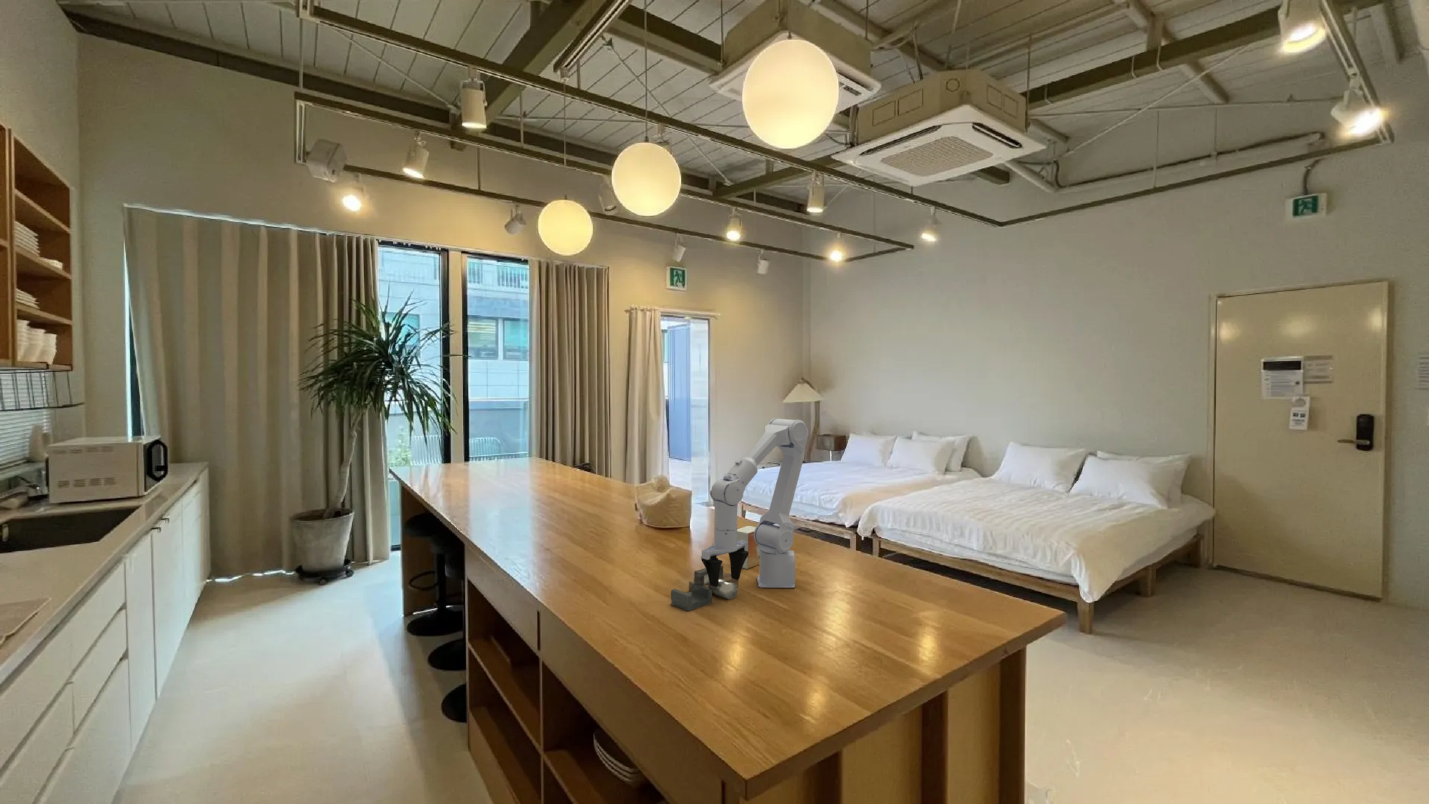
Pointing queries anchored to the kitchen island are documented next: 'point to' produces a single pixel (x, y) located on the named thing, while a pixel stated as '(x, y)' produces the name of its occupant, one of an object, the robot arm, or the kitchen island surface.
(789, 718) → the kitchen island surface
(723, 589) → the axle
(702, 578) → the bearing block
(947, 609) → the kitchen island surface
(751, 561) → the small box
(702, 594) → the cradle
